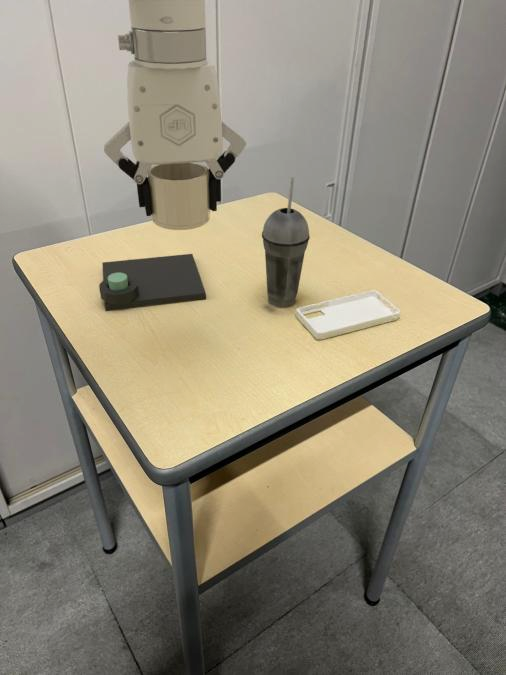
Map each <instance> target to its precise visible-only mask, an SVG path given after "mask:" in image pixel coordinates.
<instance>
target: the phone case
mask: <svg viewBox="0 0 506 675" xmlns="http://www.w3.org/2000/svg"><path fill="white" fill-rule="evenodd" d="M381 299H382V300H381ZM385 302H386V303H387V304H386V303H385ZM389 305H390V307H389ZM391 307H392V308H393V309H394V310H393V309H392V308H391ZM317 312H321V313H322V314H321V315H318V316H313V317H310V318H307V317H306V316H305V315H310V314H313V313H317ZM401 312H402V311H401V310H400V309H399V307H397V306H395V305H394V304H393V303H392V302H391V301H390V300H388V299H387V298H386V297H385V296H384V295H383V294H381V293H380V292H379V291H377V290H375V289H374V290H371V289H370V290H367V291H362V292H359V293H355V294H349V295H346V296H341V297H338V298H337V297H336V298H332V299H329V300H324V301H320V302H316V303H312V304H309V305H302V306H299V307H297V308H296V309H295V317H296V318H297V320H299V322H300V323H301V324H302V326H304V327H305V328H306V329H307V330H308V332H309V333H310V334H311V336H312V337H314V338H315V339H316V340H319V341H320V340H325V339H329V338H333V337H336V336H341V335H345V334H348V333H352V332H356V331H360V330H364V329H368V328H371V327H375V326H378V325H383V324H386V323H390V322H393V321H397V320H399V319H400V316H401Z"/></svg>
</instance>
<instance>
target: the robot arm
mask: <svg viewBox="0 0 506 675" xmlns="http://www.w3.org/2000/svg"><path fill="white" fill-rule="evenodd" d="M128 8H129V17H130V19H129V20H130V29H131V30H129V31H128V33H125V34H117V40H118V50H119V51H126V52H129V53H130V54H131V55H133V56H134V57H133V58H134V60H131V61H129V62H128V66H127V76H126V77H127V79H126V81H127V82H126V83H127V84H126V86H127V87H126V88H127V111H128V112H127V114H128V121H127V123H126V124H125V125H124V126H122V128H120V129H119V130H118V131H117V132H116V134H114V135H113V136H112V137H111V138H109V140H108V141H106V143H105V144H104V146H103V150H104V151H103V152H104V154H105V155H106V156H107V157H108V158H109V159H110V160H111V161H112V162H113V163H114V164H116V166H118V168H119V170H121V171H122V172H123V173H125V174H126V175H127V176H128V177H129V178H131V179H132V180H133V181H134V183H135V184H136V189H137V191H136V192H137V200H138V206H139V208H144V209H145V215H146V217H152V206H151V195H150V186H149V181H148V172H149V169H150V167H151V166H154V165H157V164H178V163H206V166H207V168H208V170H209V188H210V211H211V212H217V211H218V203H219V202H220V203H221V202H222V179H223V178H224V175H225V173H226V172H227V171H228V170H229V169H230V168H231V167H232V166H233V165H234V163H235V162H236V159H237V158H238V157H239V156H240V155H241V153H242V152H243V150H244V149H245V148H246V147H247V142H246V140H245V139H244V137H243V136H241V135H240V134H239V133H238V132H237V131H235V130H234V129H232V128H231V127H230V126H229V125H227V124H226V123H225V122H224V121H222V108H221V98H220V89H219V81H218V75H217V70H216V66H215V63H214V62H212V61H211V60H207V31H206V29H207V28H206V27H207V26H206V0H128ZM223 139H225V140H226V141H227V142H228V143H229V146H228V147H227V149H226V150H224V152H223V147H224V146H223V145H224V144H223V141H224V140H223ZM129 141H130V144H131V149H132V154H133V156H134V158H135V160H136V162H133V161H132V160H131V159H130V158H129V157H128V156H126V155H125V154H124V153H123V152H122V150H121V149H122V148H123V147H124V146H125V145H126V144H128V143H129Z"/></svg>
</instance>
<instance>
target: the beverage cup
mask: <svg viewBox="0 0 506 675" xmlns="http://www.w3.org/2000/svg"><path fill="white" fill-rule="evenodd" d="M294 184H295V177H294V176H291V177H290V184H289V191H288V193H289V194H288V200H287V207H282V208H279V209H276V210H274V211H273V212H271V214H269V216H268V217H267V218H266V220H265V222H264V224H263V227H262V232H261V238H262V245H263V249H264V256H265V259H264V260H265V275H266V276H265V277H266V293H267V302H268V303H269V304H270V305H271V306H273V307H276V308H283V309H284V308H285V309H286V308H290V307H292V306H293V305H294V304H295V303H296V301H297V300H296V299H297V295H298V291H299V286H300V281H301V276H302V270H303V265H304V259H305V253H306V251H307V249H308V244H309V240H310V239H311V237H310V236H311V235H310V230H309V224H308V221H307V219H306V218H305V216H304V215H303V213H301V212H300V211H299V210H296V209H295V208H292V202H293V193H294Z"/></svg>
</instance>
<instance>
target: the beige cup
mask: <svg viewBox="0 0 506 675" xmlns="http://www.w3.org/2000/svg"><path fill="white" fill-rule="evenodd" d="M147 177H148V181H149V186H150V195H151V206H152V215H151V220H152V222H153V223H154V225H156V226H157V227H159V228H162V229H166V230H170V231H171V230H172V231H187V230H195V229H197V228H201V227H203V226H205V225H206V224H208V223H209V221H210V219H211V210H210V188H209V167H208V166H207V165H204V164H202V163H200V162H195V163H178V164H157V165H151V167H150V169H149V172H148V174H147Z"/></svg>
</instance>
